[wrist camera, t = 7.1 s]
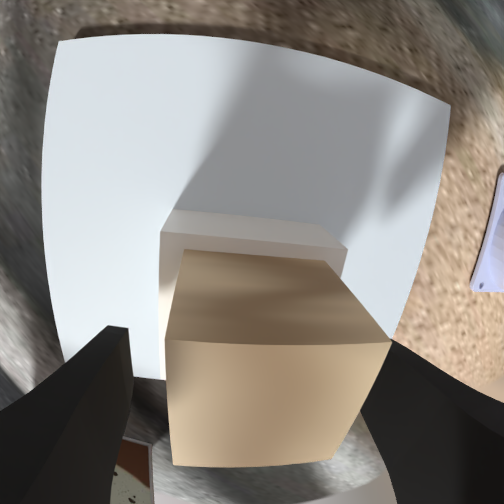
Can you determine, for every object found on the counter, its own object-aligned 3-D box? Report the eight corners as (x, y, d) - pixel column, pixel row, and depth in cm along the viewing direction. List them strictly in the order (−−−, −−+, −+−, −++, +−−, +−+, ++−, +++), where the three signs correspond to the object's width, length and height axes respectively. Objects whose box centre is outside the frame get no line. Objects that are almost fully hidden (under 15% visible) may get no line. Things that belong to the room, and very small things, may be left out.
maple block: (324, 260, 10) (392, 341, 6) (297, 366, 11) (331, 459, 7) (184, 249, 9) (164, 338, 5) (180, 362, 11) (173, 464, 7)
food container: (26, 432, 17) (-5, 519, 8) (17, 392, 16) (-29, 495, 6) (156, 478, 20) (152, 574, 11) (171, 448, 19) (169, 567, 9)
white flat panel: (438, 105, 12) (450, 105, 11) (367, 368, 18) (373, 378, 17) (68, 46, 9) (58, 41, 8) (71, 353, 15) (65, 364, 14)
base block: (319, 224, 13) (348, 249, 10) (292, 342, 15) (308, 383, 12) (172, 208, 12) (160, 231, 9) (168, 335, 14) (160, 379, 11)
